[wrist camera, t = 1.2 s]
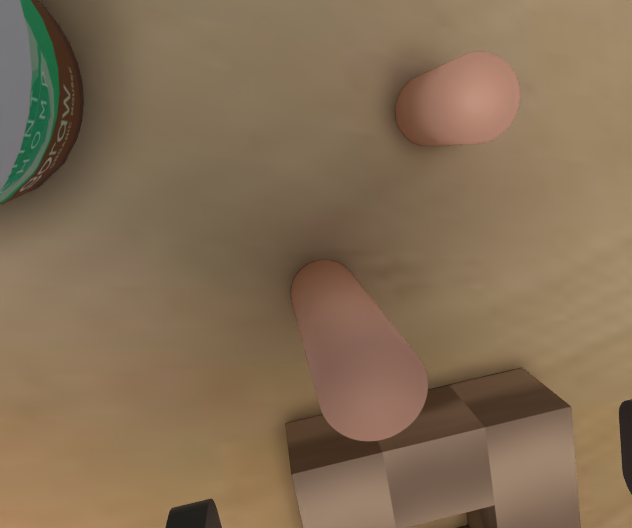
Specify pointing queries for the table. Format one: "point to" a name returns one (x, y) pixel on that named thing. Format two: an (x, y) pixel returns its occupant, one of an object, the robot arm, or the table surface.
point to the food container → (35, 97)
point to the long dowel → (356, 355)
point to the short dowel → (459, 102)
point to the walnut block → (446, 462)
